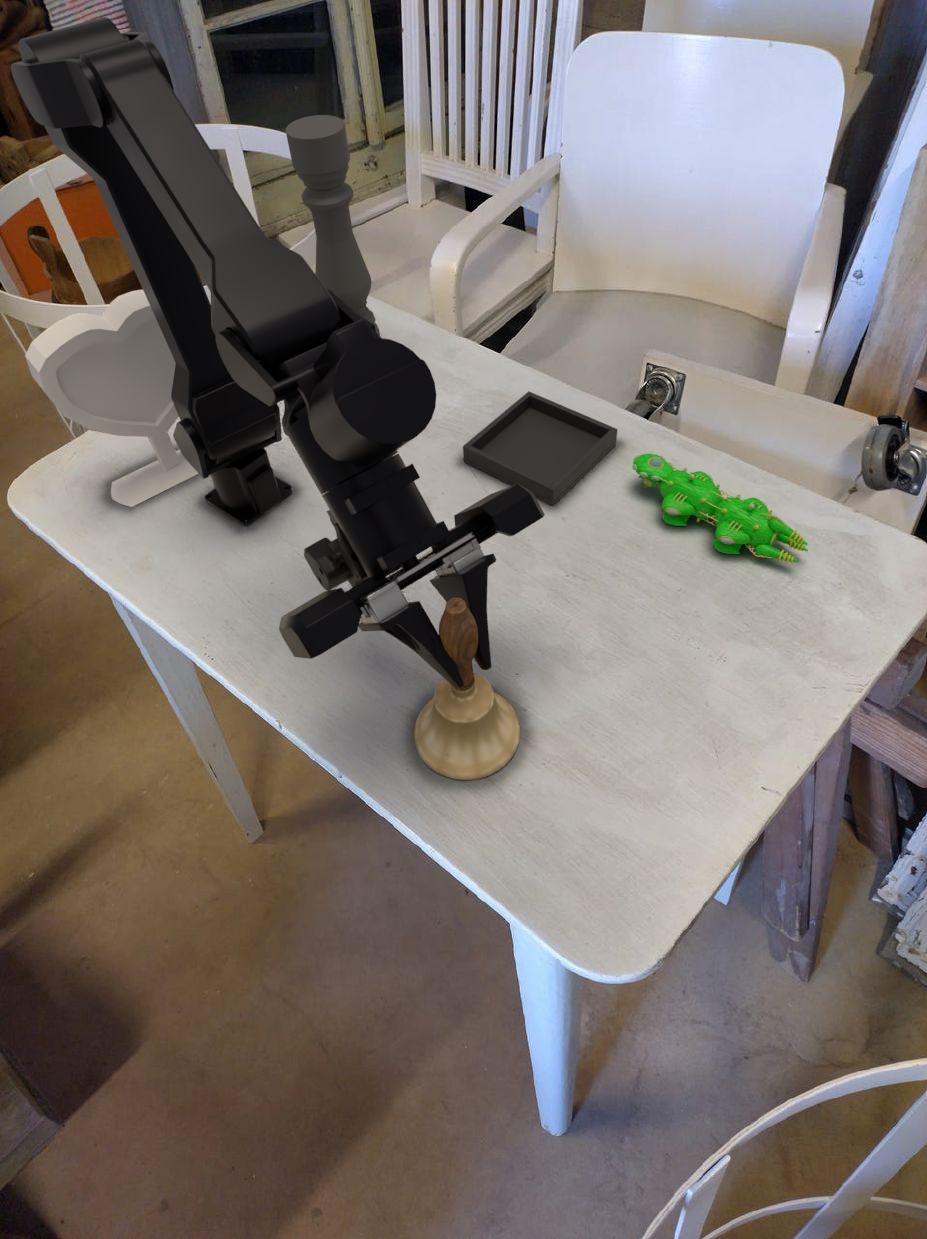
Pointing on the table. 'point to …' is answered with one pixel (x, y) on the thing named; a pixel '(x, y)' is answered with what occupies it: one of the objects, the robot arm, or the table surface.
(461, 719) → the hand bell
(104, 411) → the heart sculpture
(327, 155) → the candle holder
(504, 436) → the tray
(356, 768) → the table surface
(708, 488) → the green toy spaceship
